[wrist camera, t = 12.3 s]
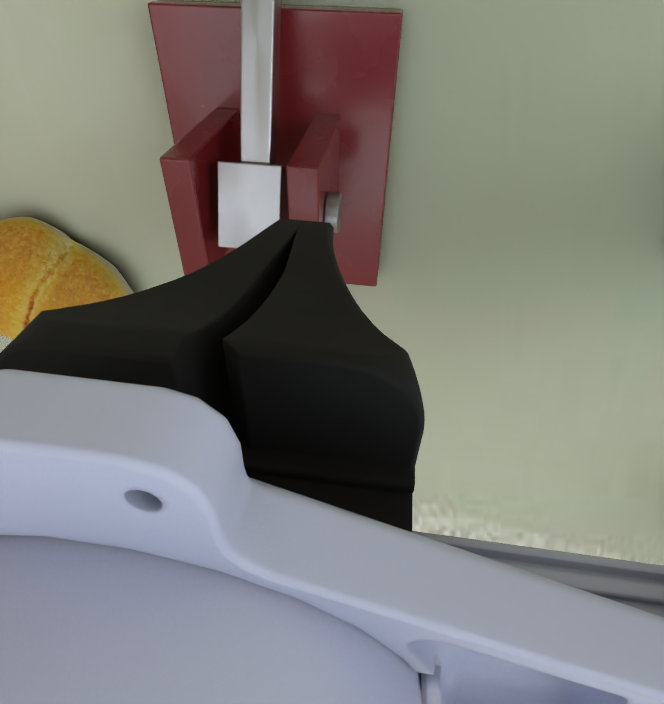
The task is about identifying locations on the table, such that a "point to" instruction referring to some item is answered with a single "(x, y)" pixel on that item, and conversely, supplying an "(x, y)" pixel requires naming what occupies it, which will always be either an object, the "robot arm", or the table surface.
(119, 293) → the bread roll
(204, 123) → the red lever base
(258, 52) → the toaster lever
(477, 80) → the table surface
